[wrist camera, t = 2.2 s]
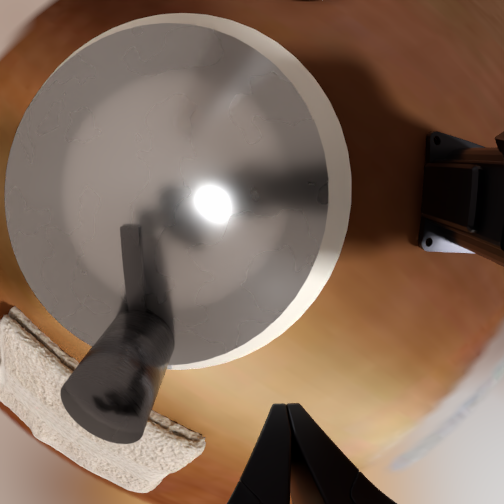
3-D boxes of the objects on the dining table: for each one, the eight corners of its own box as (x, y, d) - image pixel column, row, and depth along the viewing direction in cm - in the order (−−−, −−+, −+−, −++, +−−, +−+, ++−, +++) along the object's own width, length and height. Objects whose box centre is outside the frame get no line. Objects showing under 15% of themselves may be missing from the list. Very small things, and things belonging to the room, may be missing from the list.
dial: (31, 70, 10) (-50, 45, 3) (321, 39, 10) (374, -44, 4) (44, 329, 14) (-18, 391, 7) (302, 353, 14) (331, 455, 8)
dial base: (341, 33, 11) (352, 18, 9) (320, 357, 16) (327, 376, 14) (34, 61, 11) (17, 54, 9) (46, 334, 16) (32, 347, 14)
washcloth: (12, 293, 15) (-14, 311, 12) (214, 430, 18) (211, 462, 15) (1, 379, 18) (-14, 396, 15) (153, 478, 21) (147, 502, 18)
